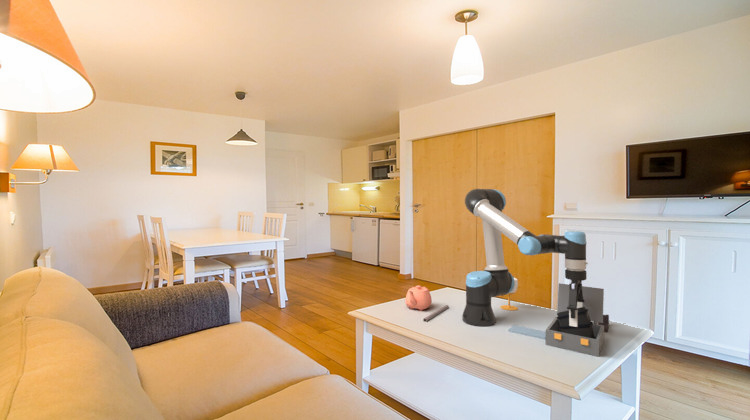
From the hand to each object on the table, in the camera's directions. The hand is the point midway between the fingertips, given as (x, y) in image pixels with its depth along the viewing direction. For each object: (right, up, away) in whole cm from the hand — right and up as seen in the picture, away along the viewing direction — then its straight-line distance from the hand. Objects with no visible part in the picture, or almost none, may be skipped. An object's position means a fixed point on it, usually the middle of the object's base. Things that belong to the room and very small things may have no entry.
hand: (576, 321), depth 140 cm
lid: (+7, +5, +9) cm, 13 cm away
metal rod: (-50, -9, +37) cm, 63 cm away
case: (+1, -9, +2) cm, 9 cm away
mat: (-14, -9, +12) cm, 20 cm away
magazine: (0, -9, 0) cm, 9 cm away
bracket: (+21, -9, +18) cm, 29 cm away
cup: (-9, -8, +48) cm, 49 cm away
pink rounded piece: (-58, -8, +48) cm, 76 cm away
